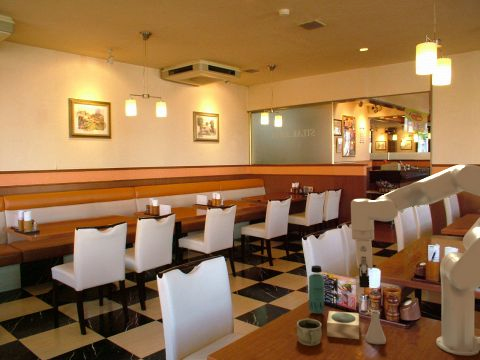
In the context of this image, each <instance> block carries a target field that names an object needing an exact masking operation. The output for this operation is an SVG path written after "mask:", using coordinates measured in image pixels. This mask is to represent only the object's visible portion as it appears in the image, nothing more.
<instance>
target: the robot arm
mask: <svg viewBox="0 0 480 360" xmlns="http://www.w3.org/2000/svg"><path fill="white" fill-rule="evenodd" d="M461 192H466V193H470V194H472V195H475V196H479V197H480V166H478V165H475V164H470V163H468V164H467V163H459V164H457V165H454V166H451V167H449V168H446V169H444V170H442V171H440V172H437V173H435V174H432V175H430V176H427V177H425V178H423V179H420V180H418V181H415V182H412V183H411V184H408V185H405V186H402V187H400V188H397V189H394V190H392V191H390V192H388V193H385V194H384V195H381V196H379V197H377V198H376V199H375V200H372V199H370V198H355V199H352V200H351V202H350V223H351V226H350V227H351V239H352V240H355V241H354V242H355V257H356V265H357V268H358V275H359V276H358V279H359V283H358V284H359V288H366V289H367V288H370V275H369V269H370V270H372V269H373V247H372V243H373V242H372V241H373V240H375V221H380V222H391V221H393V220H395V219H396V218H397V217H398V214H399V212H401V211H403V210H406V209H409V208H412V207H416V206H425V205H432V204H434V203H438V202H439V201H440V202H441V201H442V200H445V199H446V198H450V197H452V196H455V195H457V194H459V193H461ZM462 245H463V248H465V251H464V252H463V253H462V252H458V251H452V252H449V253H447V254H445V255H444V256H443V257H442V259H441V260H440V263H439V274H440V283H441V284H440V285H441V336H439V337H437V338H436V341H435V342H436V346H437V347H439V348H440V349H441V350H443V351H444V352H447V353H449V354H450V353H451V354H452V355H458V356H470V357H471V356H475V355H477V354H480V353H479V352H480V336H476V335H475V290H477V289H478V288H480V217H479V218H478V219H477V220H476V221H475V223H474V224H472V226H471V227H470V229H469V230H468V231H467V232H466V233H465V234H464V236H463V238H462Z"/></svg>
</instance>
